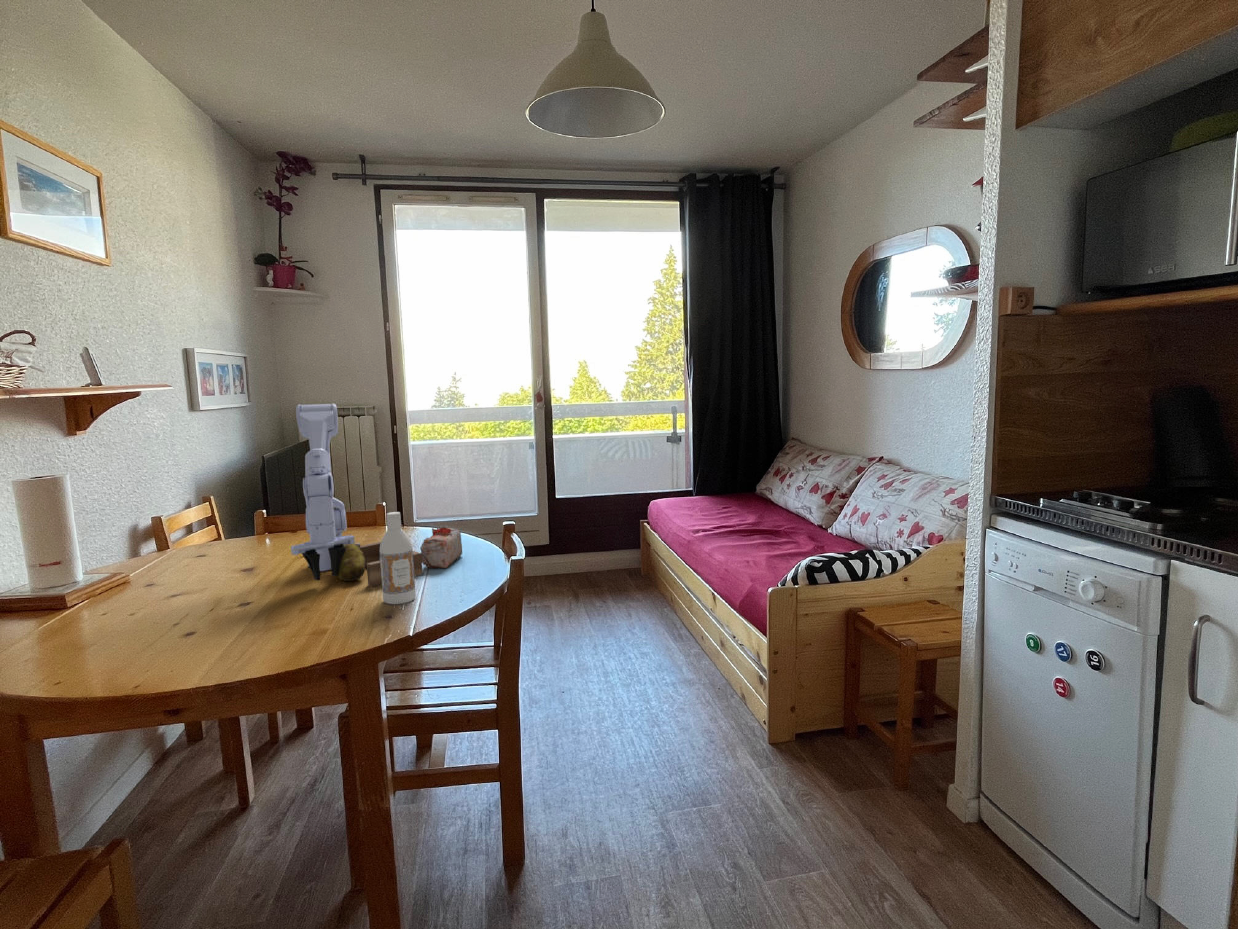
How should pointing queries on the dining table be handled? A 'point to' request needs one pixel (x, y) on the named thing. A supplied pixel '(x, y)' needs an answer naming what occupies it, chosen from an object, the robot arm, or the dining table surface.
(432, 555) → the food item
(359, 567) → the potato
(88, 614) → the dining table surface
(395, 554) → the bath foam
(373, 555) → the cradle
